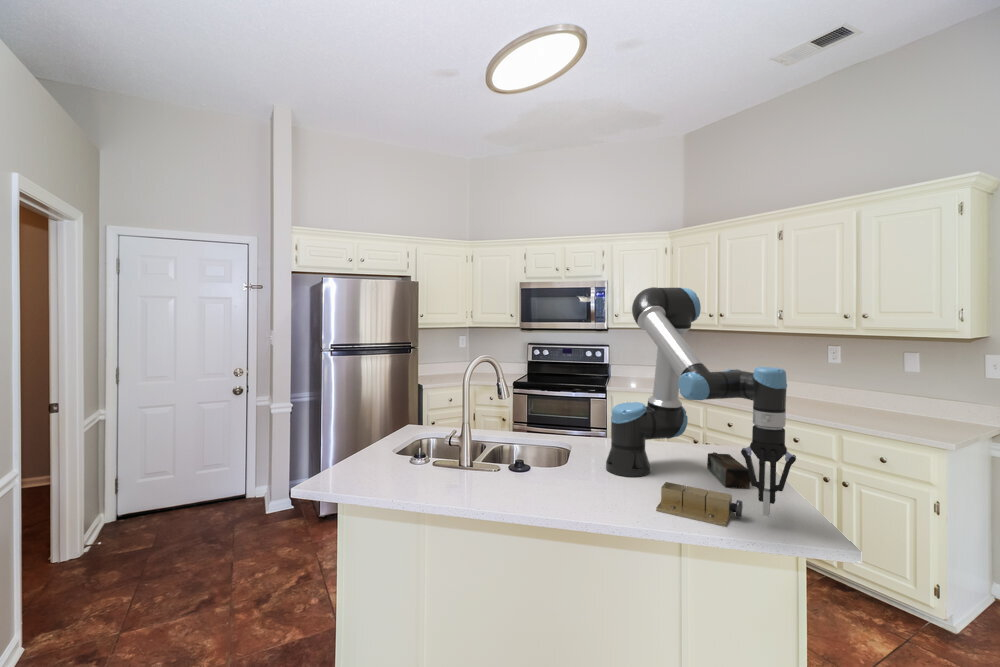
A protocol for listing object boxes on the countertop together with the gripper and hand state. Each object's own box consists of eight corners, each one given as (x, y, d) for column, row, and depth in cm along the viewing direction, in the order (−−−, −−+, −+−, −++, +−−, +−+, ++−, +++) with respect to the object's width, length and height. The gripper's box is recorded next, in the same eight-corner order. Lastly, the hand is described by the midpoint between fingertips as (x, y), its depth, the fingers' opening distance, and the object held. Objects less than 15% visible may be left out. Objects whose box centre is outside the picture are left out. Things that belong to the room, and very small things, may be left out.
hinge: (656, 510, 136) (656, 492, 136) (669, 493, 149) (670, 477, 149) (725, 526, 127) (726, 507, 126) (733, 506, 139) (734, 489, 139)
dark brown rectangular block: (729, 469, 172) (730, 451, 171) (751, 490, 153) (752, 469, 152) (706, 469, 173) (706, 450, 172) (725, 489, 154) (725, 468, 153)
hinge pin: (667, 504, 140) (667, 489, 140) (670, 499, 144) (671, 484, 144) (740, 520, 130) (740, 504, 129) (742, 514, 133) (742, 498, 133)
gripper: (739, 425, 127) (737, 513, 128) (797, 432, 120) (794, 525, 121) (743, 420, 133) (741, 504, 135) (798, 426, 126) (795, 515, 127)
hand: (766, 514), depth 128 cm, fingers closed
